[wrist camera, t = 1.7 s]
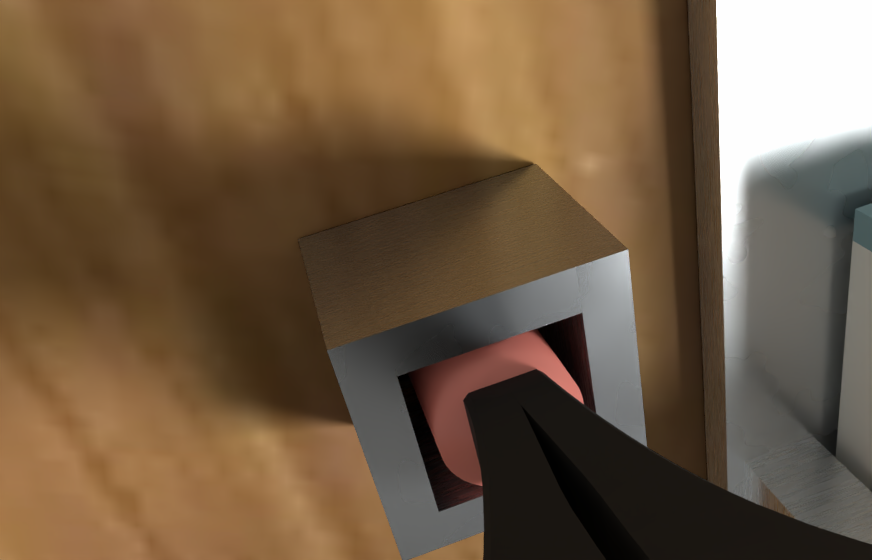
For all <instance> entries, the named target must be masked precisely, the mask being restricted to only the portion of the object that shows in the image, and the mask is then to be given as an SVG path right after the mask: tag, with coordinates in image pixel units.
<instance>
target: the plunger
mask: <svg viewBox="0 0 872 560" xmlns="http://www.w3.org/2000/svg"><path fill="white" fill-rule="evenodd" d="M535 369H537V370H539V371H542V372H543V373H545V374H546V375H547V376H548V377H549V378H551V379H552V380H553V381H554V382H556V383H557V384H558V385H559V386H561V387H562V388H563V389H564V390H566V391H567V392H568V393H569V394H571V395H572V396H573V397H575V398H576V399H577V400H579V401H580V402H581V403H583V404H584V402H583V398H582V394H581V392H580V389H579V387H578V386H577V384H576V383H575V381H574V380H573V379H572V377H571V376H570V374H569V373H568V372H567V370H566V369H565V367H564V366H563V364H562V363H561V362H560V360H559V359H558V357H557V356H556V355H555V353H554V352H553V350H552V349H551V348H550V346H549V345H548V343H547V342H546V341H545V339H544V338H543V336H542V335H541V333H540V332H539V331H538V329H534V330H531V331H528V332H525V333H522V334H519V335H516V336H513V337H510V338H508V339H505V340H502V341H499V342H496V343H493V344H490V345H487V346H484V347H481V348H478V349H476V350H473V351H470V352H467V353H464V354H461V355H458V356H455V357H452V358H449V359H446V360H444V361H441V362H438V363H435V364H432V365H429V366H426V367H423V368H420V369H417V370H414V371H412V372H409V373H408V375H409V377H410V380H411V382H412V385H413V387H414V390H415V392H416V395H417V397H418V400H419V402H420V405H421V407H422V410H423V412H424V415H425V417H426V419H427V422H428V424H429V427H430V429H431V432H432V434H433V437H434V439H435V442H436V444H437V447H438V449H439V452H440V454H441V457H442V459H443V461H444V463H445V464H446V466H447V467H448V468H449V470H450V471H451V472H452V473H453V474H455V475H456V476H457V477H459V478H460V479H462V480H464V481H466V482H469V483H471V484H475V485H480V486H482V477H481V469H480V465H479V461H478V457H477V453H476V449H475V445H474V441H473V437H472V433H471V429H470V426H469V422H468V418H467V414H466V410H465V406H464V402H463V400H464V398H465V397H466V395H467V394H468V393H469V392H472V391H475V390H478V389H481V388H484V387H487V386H489V385H492V384H495V383H498V382H501V381H504V380H507V379H509V378H512V377H515V376H518V375H521V374H523V373H526V372H529V371H532V370H535Z"/></svg>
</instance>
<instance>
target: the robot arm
mask: <svg viewBox="0 0 872 560" xmlns="http://www.w3.org/2000/svg"><path fill="white" fill-rule="evenodd" d="M463 402H464V406H465V410H466V414H467V418H468V422H469V426H470V429H471V433H472V437H473V441H474V445H475V449H476V453H477V457H478V461H479V465H480V469H481V477H482V488H483V514H484V555H483V560H872V544H869V543H866V542H862V541H859V540H856V539H853V538H849V537H846V536H843V535H840V534H837V533H834V532H831V531H828V530H825V529H821V528H818V527H816V526H813V525H810V524H807V523H805V522H802V521H800V520H797V519H794V518H792V517H789V516H787V515H784V514H781V513H779V512H776V511H774V510H771V509H769V508H766V507H763V506H761V505H758V504H756V503H754V502H751V501H749V500H747V499H745V498H742V497H740V496H738V495H736V494H734V493H731V492H729V491H727V490H725V489H723V488H721V487H719V486H717V485H715V484H713V483H711V482H709V481H707V480H705V479H703V478H701V477H699V476H697V475H695V474H693V473H691V472H689V471H687V470H686V469H684V468H682V467H680V466H678V465H677V464H675V463H673V462H671V461H670V460H668V459H666V458H664V457H663V456H661V455H659V454H658V453H656V452H654V451H653V450H651V449H649V448H648V447H646V446H644V445H643V444H641V443H640V442H638V441H636V440H635V439H633V438H632V437H630V436H629V435H627V434H626V433H624V432H623V431H621V430H620V429H618V428H617V427H615V426H614V425H612V424H611V423H609V422H608V421H606V420H605V419H603V418H602V417H601V416H599V415H598V414H596V413H595V412H594V411H592V410H591V409H589V408H588V407H587V406H585V405H584V404H583V403H581V402H580V401H579V400H577V399H576V398H575V397H573V396H572V395H571V394H569V393H568V392H567V391H566V390H564V389H563V388H562V387H561V386H559V385H558V384H557V383H556V382H554V381H553V380H552V379H551V378H549V377H548V376H547V375H546V374H545V373H543V372H542V371H539V370H537V369H535V370H532V371H529V372H526V373H523V374H521V375H518V376H515V377H512V378H509V379H507V380H504V381H501V382H498V383H495V384H492V385H489V386H487V387H484V388H481V389H478V390H475V391H472V392H469V393H468V394H467V395H466V397H465V398H464V400H463Z"/></svg>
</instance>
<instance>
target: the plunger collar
mask: <svg viewBox="0 0 872 560" xmlns="http://www.w3.org/2000/svg"><path fill="white" fill-rule="evenodd" d="M298 242H299V245H300V249H301V253H302V257H303V261H304V265H305V268H306V272H307V276H308V280H309V284H310V288H311V291H312V295H313V299H314V303H315V307H316V310H317V314H318V318H319V322H320V326H321V330H322V333H323V337H324V341H325V345H326V349H327V352H328V355H329V358H330V360H331V363H332V366H333V369H334V371H335V374H336V377H337V380H338V383H339V385H340V388H341V391H342V394H343V396H344V399H345V402H346V405H347V408H348V410H349V413H350V416H351V419H352V421H353V424H354V427H355V430H356V433H357V435H358V438H359V441H360V444H361V446H362V449H363V452H364V455H365V458H366V460H367V463H368V466H369V469H370V471H371V474H372V477H373V480H374V483H375V485H376V488H377V491H378V494H379V496H380V499H381V502H382V505H383V508H384V510H385V513H386V516H387V519H388V521H389V524H390V527H391V530H392V533H393V535H394V538H395V541H396V544H397V546H398V549H399V552H400V555H401V558H402V560H409V559H412V558H414V557H417V556H420V555H422V554H425V553H428V552H430V551H433V550H436V549H438V548H441V547H444V546H446V545H449V544H452V543H454V542H457V541H460V540H462V539H465V538H468V537H471V536H473V535H476V534H479V533H481V532H484V514H483V488H482V486H480V485H475V484H471V483H469V482H466V481H464V480H462V479H460V478H459V477H457V476H456V475H455V474H453V473H452V472H451V471H450V470H449V468H448V467H447V466H446V464H445V463H444V461H443V459H442V457H441V454H440V452H439V449H438V447H437V444H436V442H435V439H434V437H433V434H432V432H431V429H430V427H429V424H428V422H427V419H426V417H425V415H424V412H423V410H422V407H421V405H420V402H419V400H418V397H417V395H416V392H415V390H414V387H413V385H412V382H411V380H410V378H407V379H404V380H402V381H398V378H397V376H400V375H403V374H406V373H409V372H412V371H414V370H417V369H420V368H423V367H426V366H429V365H432V364H435V363H438V362H441V361H444V360H446V359H449V358H452V357H455V356H458V355H461V354H464V353H467V352H470V351H473V350H476V349H478V348H481V347H484V346H487V345H490V344H493V343H496V342H499V341H502V340H505V339H508V338H510V337H513V336H516V335H519V334H522V333H525V332H528V331H531V330H534V329H538V331H539V332H540V333H541V335H542V336H543V338H544V339H545V341H546V342H547V343H548V345H549V346H550V348H551V349H552V350H553V352H554V353H555V355H556V356H557V357H558V359H559V360H560V362H561V363H562V364H563V366H564V367H565V369H566V370H567V372H568V373H569V374H570V376H571V377H572V379H573V380H574V381H575V383H576V384H577V386H578V387H579V389H580V392H581V394H582V398H583V402H584V405H585V406H587V407H588V408H589V409H591V410H592V411H594V412H595V413H596V414H598V415H599V416H601V417H602V418H603V419H605V420H606V421H608V422H609V423H611V424H612V425H614V426H615V427H617V428H618V429H620V430H621V431H623V432H624V433H626V434H627V435H629V436H630V437H632V438H633V439H635V440H636V441H638V442H640V443H641V444H643V445H644V446H646V447H647V441H646V430H645V420H644V410H643V399H642V389H641V378H640V368H639V358H638V347H637V337H636V327H635V316H634V306H633V295H632V285H631V275H630V264H629V254H628V249H627V248H626V247H625V246H624V245H623V244H622V243H621V242H620V241H619V240H617V239H616V238H615V237H614V236H613V235H612V234H611V233H610V232H609V231H608V230H607V229H606V228H605V227H603V226H602V225H601V224H600V223H599V222H598V221H597V220H596V219H595V218H594V217H593V216H592V215H591V214H589V213H588V212H587V211H586V210H585V209H584V208H583V207H582V206H581V205H580V204H579V203H578V202H577V201H575V200H574V199H573V198H572V197H571V196H570V195H569V194H568V193H567V192H566V191H565V190H564V189H563V188H561V187H560V186H559V185H558V184H557V183H556V182H555V181H554V180H553V179H552V178H551V177H550V176H549V175H547V174H546V173H545V172H544V171H543V170H542V169H541V168H540V167H539V166H538V165H537V164H534V165H530V166H527V167H524V168H521V169H518V170H515V171H512V172H508V173H505V174H502V175H499V176H496V177H493V178H489V179H486V180H483V181H480V182H477V183H474V184H471V185H467V186H464V187H461V188H458V189H455V190H452V191H448V192H445V193H442V194H439V195H436V196H433V197H430V198H426V199H423V200H420V201H417V202H414V203H411V204H407V205H404V206H401V207H398V208H395V209H392V210H389V211H385V212H382V213H379V214H376V215H373V216H370V217H366V218H363V219H360V220H357V221H354V222H351V223H348V224H344V225H341V226H338V227H335V228H332V229H329V230H325V231H322V232H319V233H316V234H313V235H310V236H307V237H303V238H300V239H298Z"/></svg>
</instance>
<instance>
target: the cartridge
mask: <svg viewBox="0 0 872 560" xmlns="http://www.w3.org/2000/svg"><path fill="white" fill-rule="evenodd" d="M836 459H837V460H838V461H839V462H840V463H842V464H843V465H844V466H845V467H846V468H847V469H848V470H849V471H850V472H851V473H852V474H853V475H854V476H855V477H856V478H857V479H858V480H859V481H860V482H861V483H862V484H864V485H865V486H866V487H867V488H868V489H869V490H870V491H871V492H872V203H871V204H868V205H865V206H862V207H859V208H856V209H855V217H854V230H853V242H852V255H851V268H850V281H849V293H848V306H847V319H846V332H845V344H844V357H843V370H842V382H841V395H840V408H839V421H838V433H837V446H836Z"/></svg>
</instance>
